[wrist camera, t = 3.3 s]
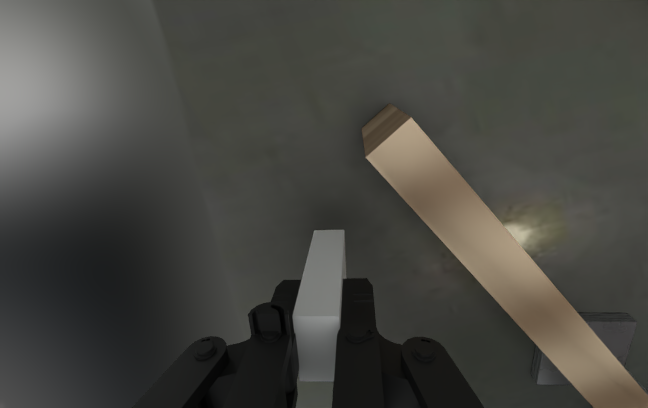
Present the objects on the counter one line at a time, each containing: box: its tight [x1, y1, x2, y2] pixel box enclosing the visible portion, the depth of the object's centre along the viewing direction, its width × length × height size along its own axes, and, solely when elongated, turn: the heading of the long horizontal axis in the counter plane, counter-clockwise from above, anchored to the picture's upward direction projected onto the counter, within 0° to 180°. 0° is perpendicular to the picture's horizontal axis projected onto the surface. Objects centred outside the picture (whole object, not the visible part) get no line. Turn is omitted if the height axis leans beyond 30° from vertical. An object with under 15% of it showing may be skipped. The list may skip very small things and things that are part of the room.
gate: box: [362, 103, 648, 408], centre depth 19 cm, size 22×2×8 cm, turn 44°
